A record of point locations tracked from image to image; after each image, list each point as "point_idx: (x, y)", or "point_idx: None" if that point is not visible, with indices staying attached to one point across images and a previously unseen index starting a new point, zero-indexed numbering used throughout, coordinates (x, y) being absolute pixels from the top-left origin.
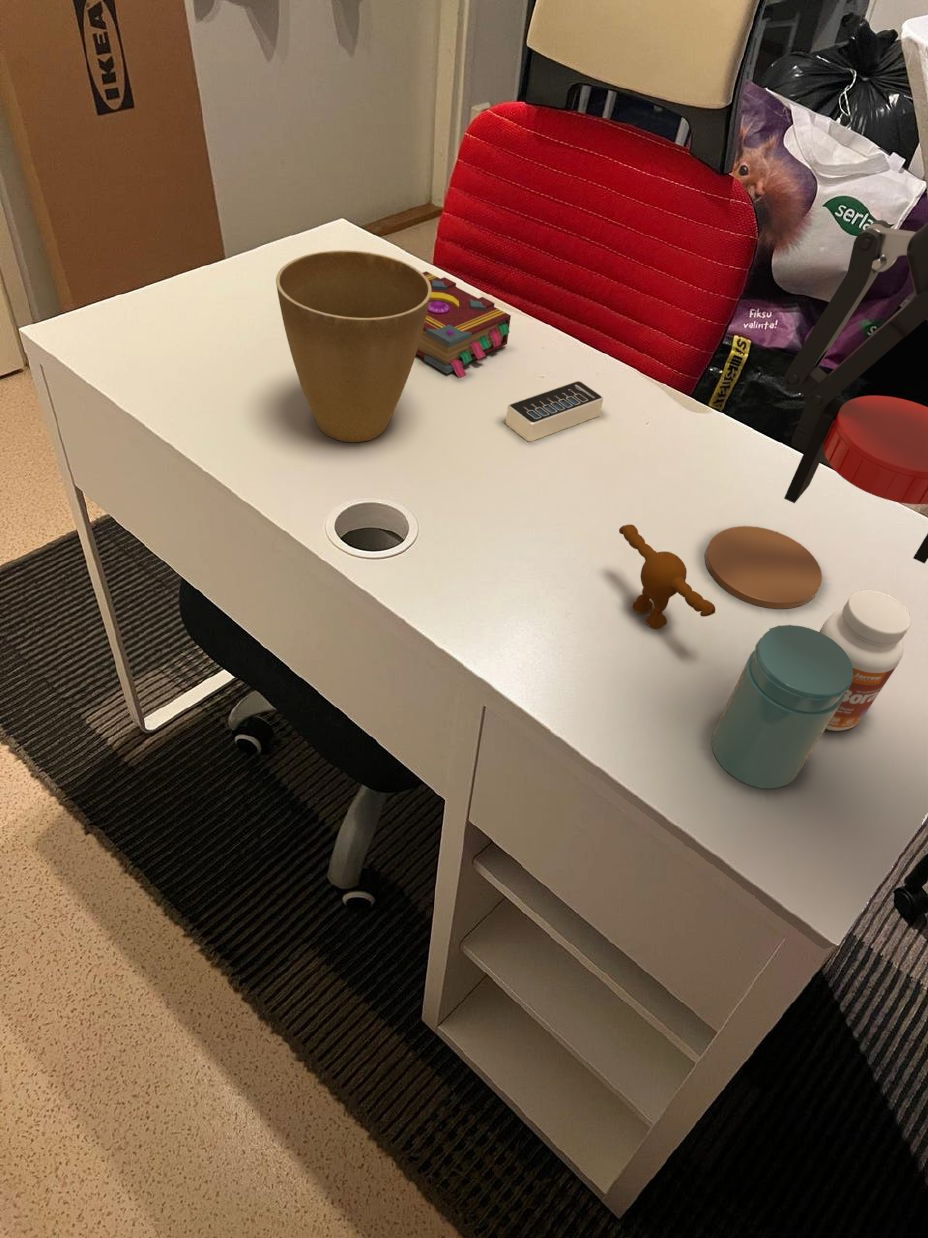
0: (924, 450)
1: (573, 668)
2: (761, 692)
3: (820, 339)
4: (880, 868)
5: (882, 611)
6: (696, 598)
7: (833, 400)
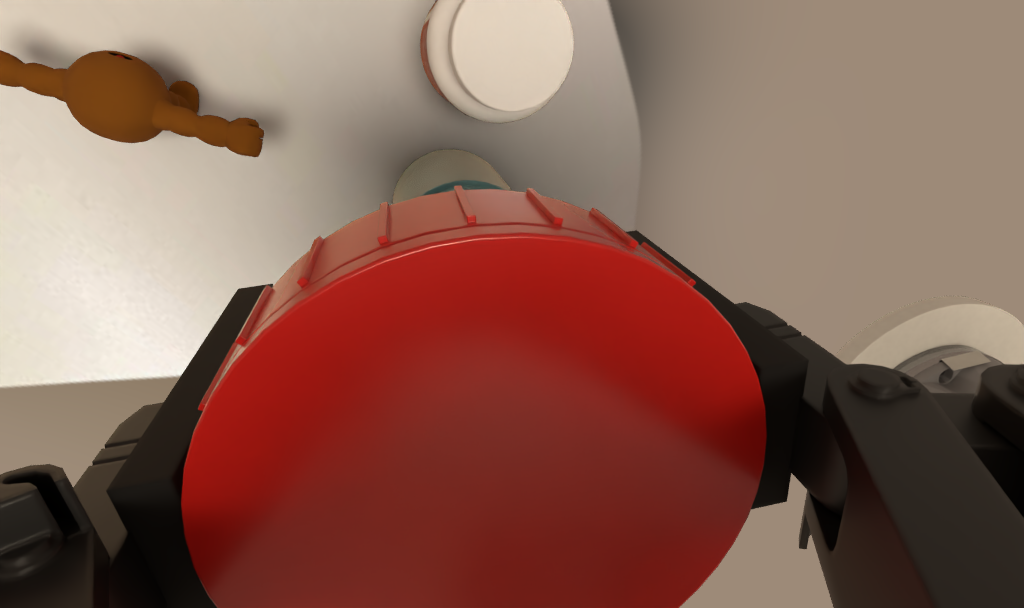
0: (604, 549)
1: (189, 279)
2: None
3: None
4: None
5: (518, 44)
6: (219, 140)
7: (128, 534)
